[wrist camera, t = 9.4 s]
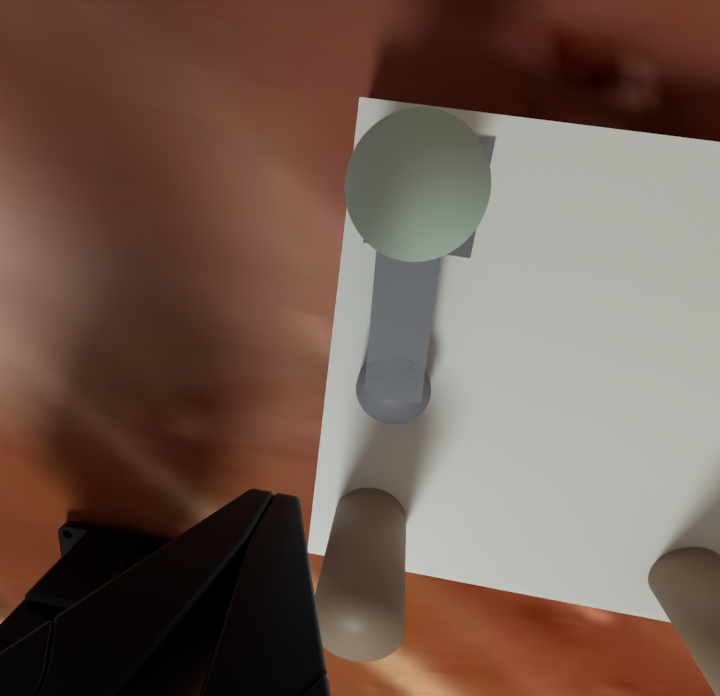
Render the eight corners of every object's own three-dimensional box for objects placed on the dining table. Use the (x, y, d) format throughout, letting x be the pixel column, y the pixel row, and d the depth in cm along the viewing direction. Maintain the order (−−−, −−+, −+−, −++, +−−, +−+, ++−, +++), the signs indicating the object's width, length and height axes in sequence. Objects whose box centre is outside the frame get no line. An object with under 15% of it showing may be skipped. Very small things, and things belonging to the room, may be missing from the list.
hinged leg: (430, 418, 16) (439, 508, 11) (350, 408, 16) (326, 492, 12) (470, 143, 13) (504, 111, 8) (371, 136, 13) (349, 102, 9)
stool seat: (697, 592, 20) (836, 783, 14) (316, 521, 21) (273, 665, 15) (913, 179, 14) (1352, 160, 8) (365, 109, 15) (331, 41, 9)
